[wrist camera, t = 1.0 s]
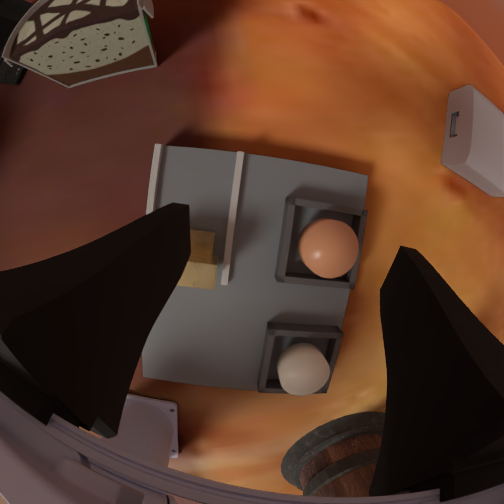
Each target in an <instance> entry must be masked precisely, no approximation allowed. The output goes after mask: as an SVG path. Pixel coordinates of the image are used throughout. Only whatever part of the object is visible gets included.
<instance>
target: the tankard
mask: <svg viewBox="0 0 504 504" xmlns="http://www.w3.org/2000/svg"><path fill="white" fill-rule="evenodd" d="M384 420H385V413H381V412H362V413H355V414H351V415H347V416H343V417H341V418H338V419H335V420H332V421H330V422H328V423H326V424H324V425H321V426H319V427H317V428H316V429H314V430H312V431H311V432H309V433H307V434H306V435H305V436H303V437H302V438H301V439H299V440H298V441H297V442H296V443H295V444H294V445H293V446H292V447H291V448H290V449H289V450H288V452H287V453H286V455H285V456H284V458H283V461H282V464H281V472H282V475H283V477H284V478H285V479H286V480H287V481H288V482H289V483H290V484H292V485H294V486H296V487H297V488H298V489H300V490H302V491H303V496H317V497H369V488H370V485H371V482H372V479H373V475H374V472H375V468H376V464H377V460H378V456H379V451H380V446H381V441H382V435H383V429H384Z"/></svg>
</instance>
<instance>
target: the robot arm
mask: <svg viewBox="0 0 504 504" xmlns="http://www.w3.org/2000/svg"><path fill="white" fill-rule="evenodd" d="M190 255H191V239H190V207H189V205H187V204H181V203H174V202H173V203H170V204H167V205H165V206H163V207H161V208H159V209H157V210H155V211H153V212H151V213H149V214H147V215H145V216H143V217H141V218H139V219H137V220H135V221H133V222H131V223H129V224H128V225H126V226H124V227H121V228H119V229H117V230H115V231H113V232H111V233H109V234H107V235H105V236H103V237H101V238H99V239H97V240H95V241H93V242H90V243H88V244H86V245H83V246H81V247H78V248H76V249H74V250H71V251H68V252H66V253H63V254H60V255H57V256H54V257H51V258H48V259H46V260H43V261H40V262H36V263H33V264H29V265H26V266H22V267H18V268H14V269H10V270H5V271H0V494H1V496H2V497H3V498H4V499H5V500H6V502H8V504H177V503H176V500H175V498H174V497H173V496H170V495H167V493H170V494H173V495H176V496H179V497H182V498H185V499H189V500H192V501H196V502H199V503H203V504H504V345H503V344H502V343H501V342H500V341H499V340H498V339H497V338H496V337H495V336H494V335H493V334H492V333H491V332H490V331H489V330H488V329H487V328H486V327H485V326H484V325H483V324H482V323H481V322H480V321H479V320H478V319H477V317H476V316H475V315H474V314H473V313H472V312H471V311H470V310H469V308H468V307H467V306H466V305H465V304H464V303H463V302H462V300H461V299H460V298H459V297H458V296H457V295H456V293H455V292H454V291H453V290H452V289H451V287H450V286H449V285H448V284H447V283H446V281H445V280H444V279H443V278H442V277H441V276H440V274H439V273H438V272H437V271H436V270H435V269H434V267H433V266H432V265H431V264H430V263H429V262H428V261H427V260H426V259H425V258H424V256H423V255H422V254H420V253H419V252H418V251H417V250H416V249H412V248H408V247H404V246H400V248H399V250H398V253H397V255H396V257H395V259H394V262H393V264H392V266H391V268H390V270H389V272H388V275H387V277H386V279H385V281H384V283H383V285H382V287H381V289H380V316H381V324H382V332H383V340H384V348H385V357H386V367H387V398H386V411H385V420H384V429H383V435H382V441H381V446H380V451H379V456H378V460H377V464H376V468H375V472H374V475H373V479H372V482H371V485H370V488H369V497H317V496H302V495H291V494H282V493H274V492H267V491H261V490H255V489H249V488H244V487H239V486H234V485H229V484H225V483H220V482H216V481H212V480H208V479H204V478H201V477H197V476H194V475H190V474H187V473H184V472H180V471H177V470H174V469H171V468H168V463H169V458H170V457H172V458H177V457H178V417H177V404H176V403H175V402H171V401H164V400H159V399H153V398H148V397H142V396H137V395H133V394H128V391H129V387H130V384H131V381H132V378H133V375H134V372H135V369H136V366H137V364H138V361H139V358H140V356H141V353H142V350H143V348H144V346H145V343H146V341H147V338H148V336H149V334H150V332H151V330H152V328H153V326H154V324H155V322H156V320H157V318H158V317H159V315H160V313H161V311H162V310H163V308H164V306H165V304H166V303H167V301H168V299H169V297H170V296H171V294H172V292H173V291H174V289H175V287H176V285H177V284H178V282H179V280H180V278H181V276H182V274H183V272H184V269H185V267H186V265H187V262H188V260H189V257H190ZM171 409H174V410H171ZM79 426H80V427H82V428H84V429H86V430H88V431H90V430H91V431H93V432H95V433H97V434H99V435H100V436H99V438H97V437H95V436H93V435H91V434H89V433H87V432H85V431H83V430H81V429H80V428H79ZM86 457H87V458H86Z"/></svg>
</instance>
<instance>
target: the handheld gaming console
mask: <svg viewBox="0 0 504 504" xmlns="http://www.w3.org/2000/svg"><path fill="white" fill-rule="evenodd" d="M32 6H33V4H32V3H29V2H27V1H24V0H0V83H7V84H13V85H19V84H20V83H21V81H22V78H23V76H24V74H25V72H26V70H27V68H25V67H22V66H20V65H18V64H16V63H14V64H13V67H11V66H10V65H8V64H7V63H6V62H5V61H4V58H3V57H2V54H3V51H4V48H5V46H6V44H7V41H8V39H9V37H10V35H11V34H12V32H13V30H14V29H15V27H16V26H17V24H18V23H19V21H20V20H21V19H22V17H23V16H24V15H25V14H26V13H27V12H28V10H29V9H30V8H31V7H32Z"/></svg>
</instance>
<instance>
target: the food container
mask: <svg viewBox="0 0 504 504" xmlns="http://www.w3.org/2000/svg"><path fill="white" fill-rule="evenodd" d="M145 12H146V13H147V14H148V15H149V16H150V17H151V18H154V7H153V3H152V0H38V1H37V2H36V3H35V4H34V5H33V6H32V7H31V8H30V9H29V10H28V12H27V13H26V14H25V15H24V16H23V17H22V19H21V20H20V21H19V23H18V24H17V26H16V27H15V29H14V30H13V32H12V34H11V35H10V37H9V39H8V41H7V44H6V46H5V48H4V51H3V54H2V57H3V58H4V61H5V62H6V63H7V64H8V65H10V66H11V67H13V64H14V63H16V64H18V65H20V66H22V67H25V68H27V69H29V70H31V71H34V72H36V73H38V74H40V75H42V76H44V77H46V78H49V79H51V80H53V81H55V82H57V83H59V84H61V85H63V86H65V87H67V88H71V87H74V86H77V85H81V84H84V83H87V82H91V81H95V80H98V79H102V78H106V77H110V76H114V75H118V74H123V73H127V72H132V71H137V70H142V69H148V68H153V67H158V64H157V54H156V51H155V47H154V44H153V40H152V36H151V33H150V29H149V25H148V22H147V18H146V14H145Z"/></svg>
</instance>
